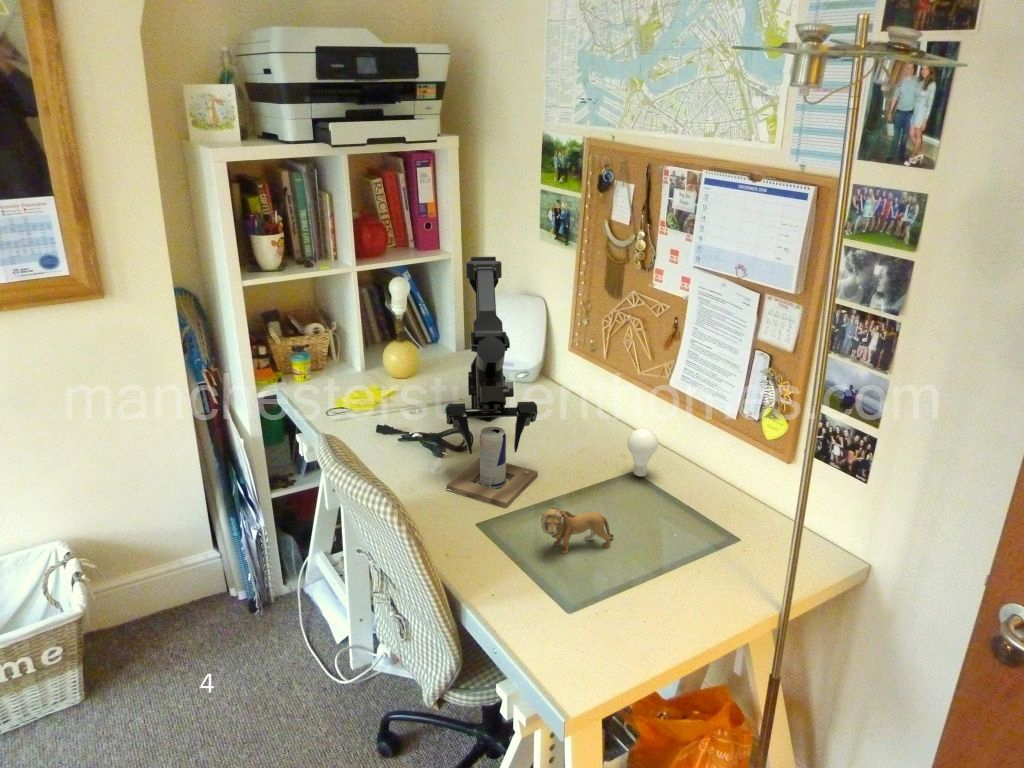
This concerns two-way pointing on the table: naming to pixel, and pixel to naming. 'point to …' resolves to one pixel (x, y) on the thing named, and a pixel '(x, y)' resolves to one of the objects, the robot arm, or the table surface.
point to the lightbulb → (642, 449)
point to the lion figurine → (574, 526)
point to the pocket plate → (497, 497)
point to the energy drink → (492, 457)
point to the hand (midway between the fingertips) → (493, 452)
